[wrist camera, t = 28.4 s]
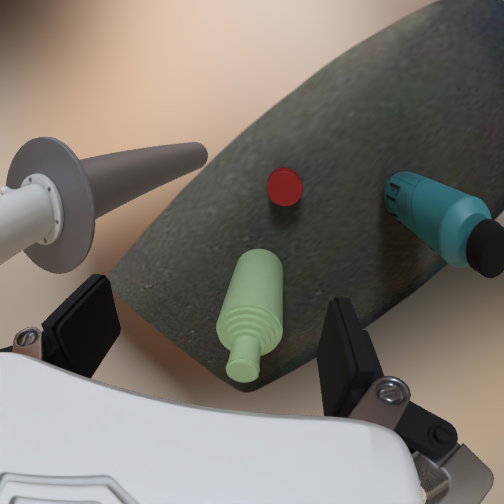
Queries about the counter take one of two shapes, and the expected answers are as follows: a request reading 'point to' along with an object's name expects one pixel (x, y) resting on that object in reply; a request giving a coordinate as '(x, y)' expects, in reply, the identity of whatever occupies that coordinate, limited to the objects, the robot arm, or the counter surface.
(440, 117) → the counter surface
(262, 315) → the sauce bottle
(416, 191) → the beverage bottle
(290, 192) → the cap
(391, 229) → the counter surface
